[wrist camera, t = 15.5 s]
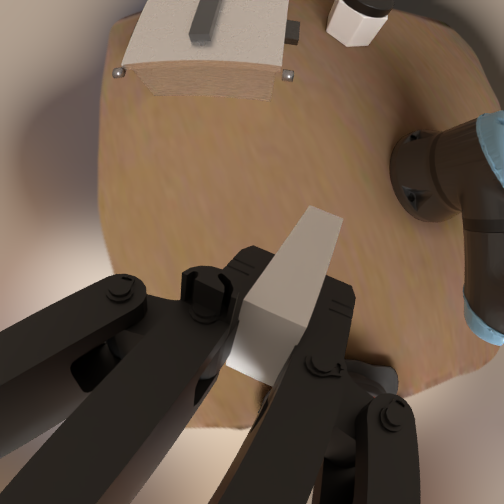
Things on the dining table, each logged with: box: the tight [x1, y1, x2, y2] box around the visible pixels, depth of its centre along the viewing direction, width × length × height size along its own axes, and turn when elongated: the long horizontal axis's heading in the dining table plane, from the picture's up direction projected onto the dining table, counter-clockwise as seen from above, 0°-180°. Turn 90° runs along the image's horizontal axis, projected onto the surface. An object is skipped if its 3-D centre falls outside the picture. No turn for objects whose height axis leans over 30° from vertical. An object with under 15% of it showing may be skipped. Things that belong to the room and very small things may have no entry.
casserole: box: [261, 359, 398, 407], centre depth 39 cm, size 25×19×8 cm
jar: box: [326, 0, 394, 47], centre depth 29 cm, size 9×8×12 cm
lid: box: [121, 0, 289, 72], centre depth 24 cm, size 17×19×3 cm
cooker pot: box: [112, 20, 300, 102], centre depth 30 cm, size 18×23×11 cm
